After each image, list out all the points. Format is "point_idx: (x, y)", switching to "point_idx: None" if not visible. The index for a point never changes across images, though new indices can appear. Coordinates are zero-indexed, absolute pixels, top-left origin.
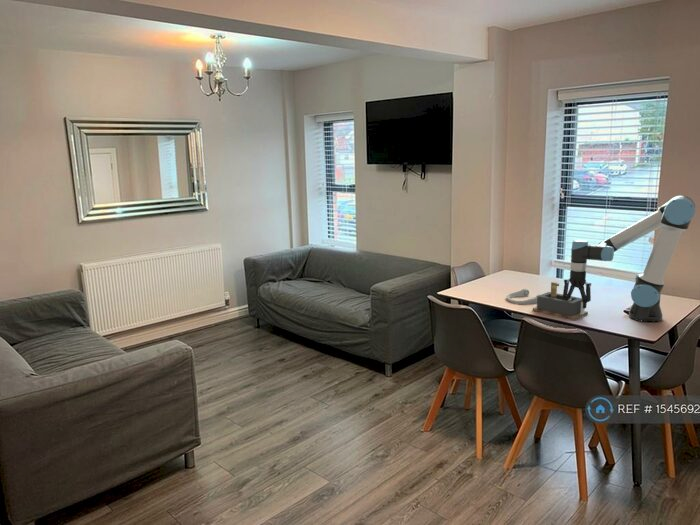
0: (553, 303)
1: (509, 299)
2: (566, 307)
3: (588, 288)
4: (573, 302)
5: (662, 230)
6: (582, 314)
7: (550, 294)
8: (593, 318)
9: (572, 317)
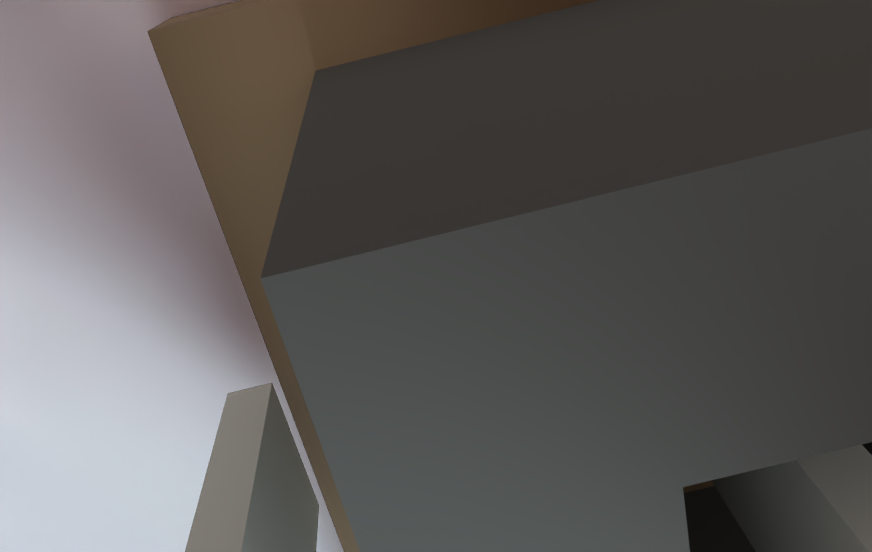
0: None
1: None
2: (625, 64)
3: None
4: (415, 470)
5: None
6: (313, 468)
7: None
8: (109, 543)
9: (240, 4)
